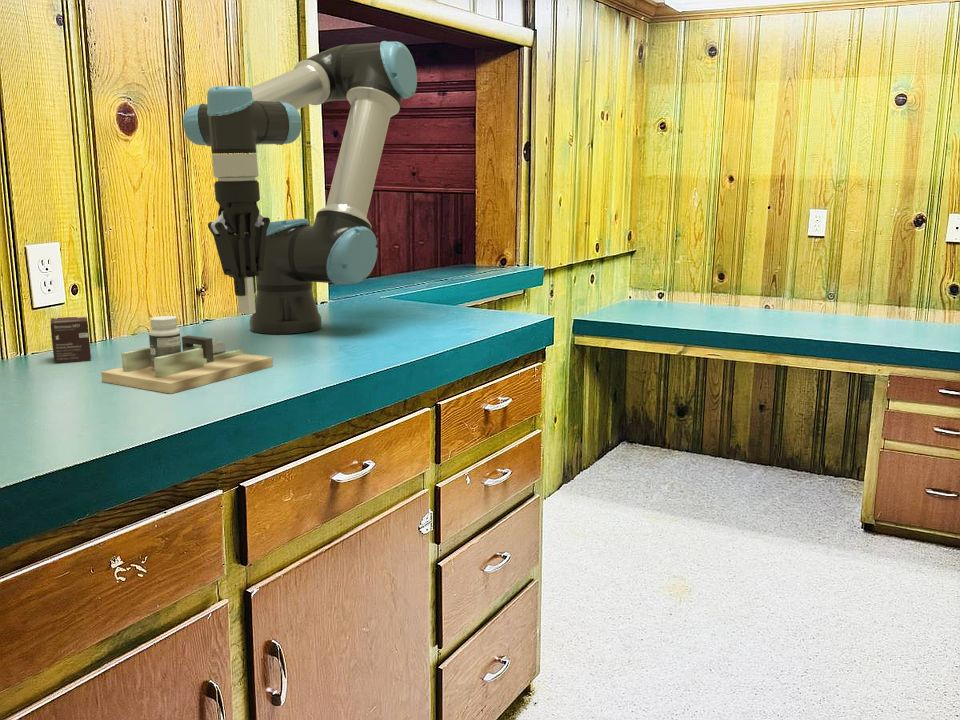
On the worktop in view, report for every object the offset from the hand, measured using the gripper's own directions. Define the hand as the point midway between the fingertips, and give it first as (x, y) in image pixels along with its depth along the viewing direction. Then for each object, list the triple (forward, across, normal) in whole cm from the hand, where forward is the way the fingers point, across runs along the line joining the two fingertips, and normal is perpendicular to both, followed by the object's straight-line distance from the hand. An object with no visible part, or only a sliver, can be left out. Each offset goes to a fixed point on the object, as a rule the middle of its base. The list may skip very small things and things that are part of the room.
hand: (247, 312), depth 154 cm
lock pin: (+6, +11, 0) cm, 12 cm away
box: (+8, +17, -27) cm, 33 cm away
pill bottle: (+6, +19, 0) cm, 20 cm away
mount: (+8, +15, +1) cm, 17 cm away
